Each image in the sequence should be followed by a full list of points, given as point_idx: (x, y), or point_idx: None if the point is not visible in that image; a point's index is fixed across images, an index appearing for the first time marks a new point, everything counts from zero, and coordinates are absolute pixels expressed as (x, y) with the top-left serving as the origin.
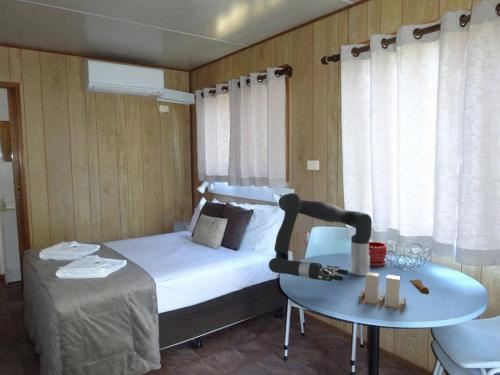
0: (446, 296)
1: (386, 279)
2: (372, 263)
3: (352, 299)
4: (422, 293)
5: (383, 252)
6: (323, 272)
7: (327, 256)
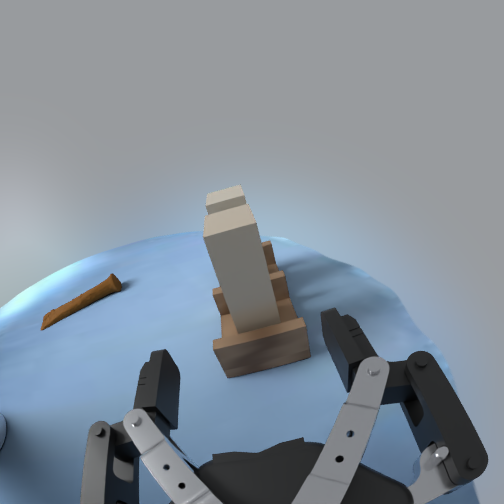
0: (125, 267)
1: (245, 201)
2: None
3: (261, 405)
4: (120, 289)
5: None
6: (386, 486)
7: None
